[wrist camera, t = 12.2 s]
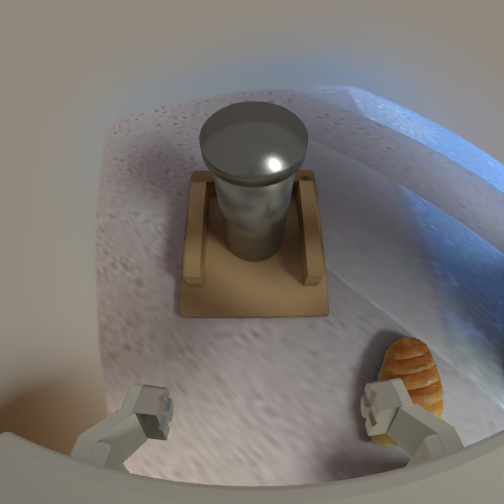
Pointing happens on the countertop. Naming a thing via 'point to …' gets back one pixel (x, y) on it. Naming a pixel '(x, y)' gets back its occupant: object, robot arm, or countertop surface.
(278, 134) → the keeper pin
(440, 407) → the pastry
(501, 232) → the countertop surface
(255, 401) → the countertop surface
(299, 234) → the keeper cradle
